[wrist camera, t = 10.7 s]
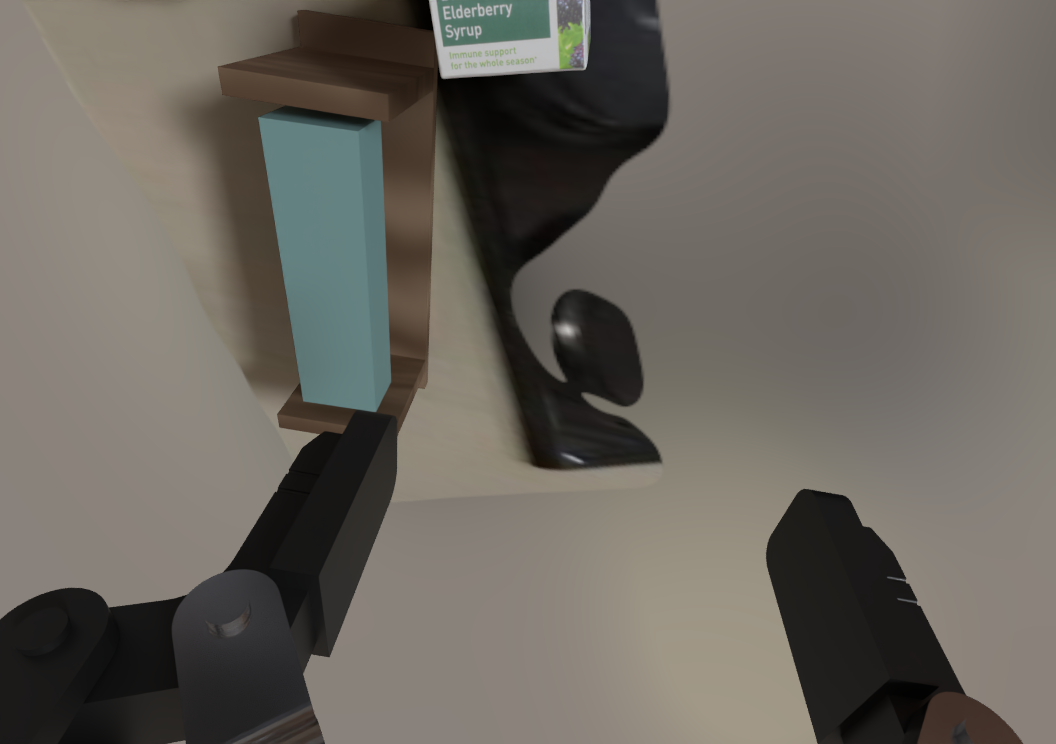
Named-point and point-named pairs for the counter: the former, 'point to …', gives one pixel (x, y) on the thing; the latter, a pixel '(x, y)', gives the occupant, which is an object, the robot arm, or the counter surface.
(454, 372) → the counter surface
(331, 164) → the teal rectangular block
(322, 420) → the rack
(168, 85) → the counter surface
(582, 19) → the syrup box
